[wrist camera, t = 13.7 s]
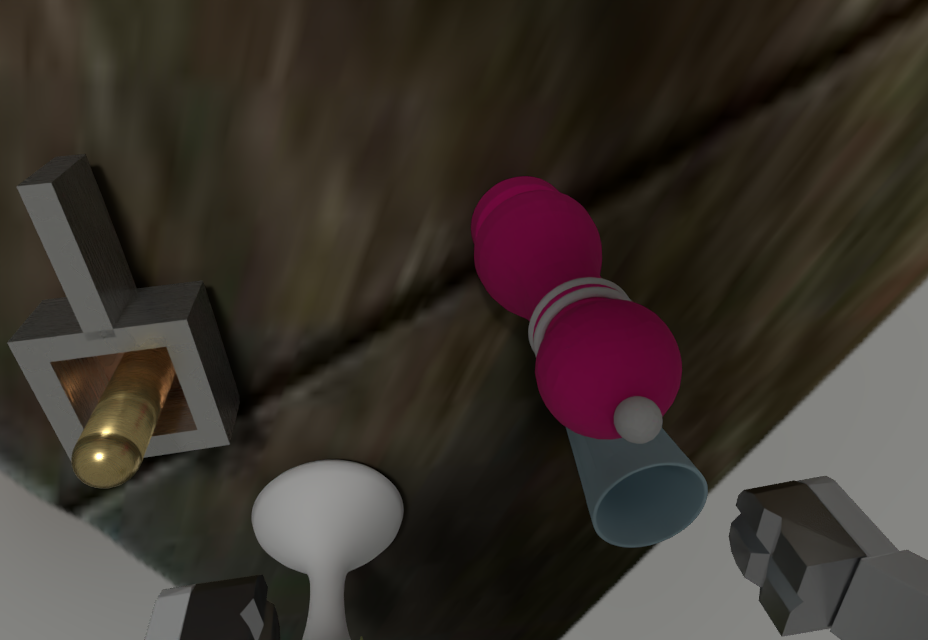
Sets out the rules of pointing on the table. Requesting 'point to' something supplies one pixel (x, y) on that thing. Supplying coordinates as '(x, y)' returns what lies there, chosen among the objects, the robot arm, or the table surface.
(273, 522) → the flower in vase
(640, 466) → the cup
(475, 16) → the table surface
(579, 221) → the pepper mill
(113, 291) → the steel link
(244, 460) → the table surface
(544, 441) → the table surface
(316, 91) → the table surface
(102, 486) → the post
